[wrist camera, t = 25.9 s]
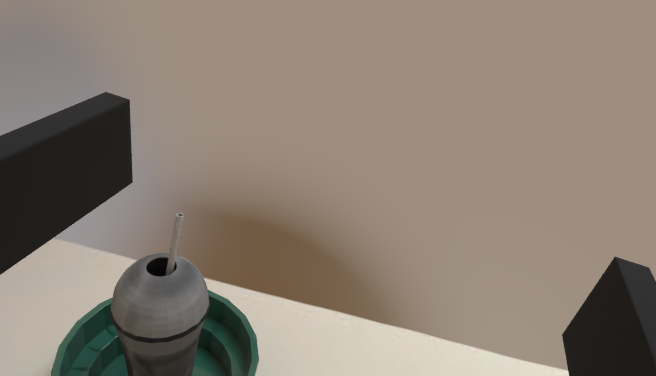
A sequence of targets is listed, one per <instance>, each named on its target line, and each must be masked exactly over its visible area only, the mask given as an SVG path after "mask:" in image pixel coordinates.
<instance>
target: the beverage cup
mask: <svg viewBox="0 0 656 376" xmlns="http://www.w3.org/2000/svg"><path fill="white" fill-rule="evenodd" d="M183 216H184V215H183V214H182V213H177V214H176V220H175V225H174V230H173V237H172V242H171V247H170V253H169V254H168V253H159V254H154V255H149V256H146V257H144V258H142V259H140V260H138V261H136V262H135V263H134V264H132V265H131V266H130V267H129V268H128V269H126V271H125V272H124V273H123V275H122V276H121V278H120V279H119V281H118V283H117V285H116V287H115V290H114V294H113V299H112V302H111V308H110V316H111V319H112V322H113V325H114V326H115V328H116V331H117V333H118V336H119V338H120V340H121V343H122V348H123V353H124V357H125V362H126V367H127V372H128V376H192V371H193V366H194V361H195V356H196V351H197V346H198V341H199V335H200V331H201V329H202V326H203V323H204V320H205V319H206V316H207V314H208V311H209V308H210V303H209V295H208V292H207V286H206V282H205V280H204V278H203V277H202V275H201V273H200V271H199V270H198V269H197V267H195V266H194V265H193V264H192V263H191V262H190V261H188V260H187V259H185V258H183V257H180V256H178V255H176V254H177V249H178V244H179V238H180V233H181V227H182V222H183Z"/></svg>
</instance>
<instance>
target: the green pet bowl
mask: <svg viewBox="0 0 656 376" xmlns="http://www.w3.org/2000/svg"><path fill="white" fill-rule="evenodd" d="M207 292H208V295H209V303H210V308H209V311H208V314H207V316H206V319H205V320H204V323H203V326H202V329H201V331H200V335H199V341H198V346H197V351H196V356H195V361H194V366H193V371H192V376H256V374H257V368H258V362H259V356H258V347H257V338H256V335H255V333H254V331H253V329H252V327H251V325H250V323H249V321H248V319H247V318H246V316H245V315H244V314H243V313H242V312H241V311H240V310H239V309H238V308H237V307H236V306H234V305H233V304H232V303H231V302H230V301H229V300H228V299H226V298H224V297H222V296H220V295H218V294H215V293H213V292H211V291H209V290H207ZM112 299H113V298H110V299H108V300H106V301H104V302H102V303H100V304H99V305H97V306H96V307H95V308H93V309H92V310H91V311H90V312H88V313H87V314H86V315H85V316H83V317H82V318H81V319H80V320H78V321H77V323H75V325H74V326H73V328H72V329H71V330H70V332H69V333H68V334H67V336H66V337H65V339H64V340H63V341H62V343H61V344H60V346H59V348H58V351H57V354H56V358H55V361H54V364H53V368H52V371H51V376H128V372H127V367H126V362H125V357H124V353H123V348H122V343H121V340H120V338H119V336H118V333H117V331H116V328H115V326H114V325H113V322H112V319H111V316H110V308H111V302H112Z"/></svg>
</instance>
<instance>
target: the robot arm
mask: <svg viewBox="0 0 656 376" xmlns="http://www.w3.org/2000/svg"><path fill="white" fill-rule="evenodd" d="M130 128H131V127H130V101H129V99H126V98H123V97H120V96H117V95H113V94H110V93H107V92H105V93H102V94H100V95H98V96H95V97H93V98H91V99H88V100H86V101H83V102H81V103H78V104H76V105H74V106H71V107H69V108H66V109H64V110H62V111H59V112H57V113H54V114H52V115H50V116H47V117H45V118H42V119H40V120H38V121H35V122H33V123H30V124H28V125H25V126H23V127H21V128H18V129H16V130H13V131H11V132H9V133H6V134H4V135H1V136H0V275H1V274H2V273H3V272H5V271H6V270H8V269H9V268H11V267H12V266H13V265H15V264H16V263H18V262H19V261H21V260H22V259H23V258H25V257H26V256H28V255H29V254H31V253H32V252H33V251H35V250H36V249H38V248H39V247H41V246H42V245H44V244H45V243H46V242H48V241H49V240H51V239H52V238H53V237H55V236H56V235H58V234H59V233H61V232H62V231H64V230H65V229H66V228H68V227H69V226H71V225H72V224H74V223H75V222H76V221H78V220H79V219H81V218H82V217H83V216H85V215H86V214H88V213H89V212H91V211H92V210H93V209H95V208H96V207H98V206H99V205H101V204H102V203H104V202H105V201H107V200H108V199H109V198H111V197H112V196H114V195H115V194H117V193H118V192H119V191H121V190H122V189H123V188H125V187H127V186H128V185H129V184H131V183H132V154H131V129H130ZM562 336H563V342H564V348H565V354H566V359H567V365H568V371H569V376H656V281H655V279H654V277H653V275H652V273H651V271H650V269H649V268H648V267H645V266H642V265H639V264H636V263H633V262H629V261H627V260H623V259H621V258H617V257H614V259H613V260H612V262H611V263H610V265H609V266H608V268H607V269H606V271H605V272H604V274H603V275H602V277H601V278H600V280H599V281H598V283H597V284H596V286H595V287H594V289H593V290H592V292H591V293H590V294H589V296H588V297H587V299H586V301H585V302H584V303H583V305H582V306H581V308H580V309H579V311H578V312H577V314H576V315H575V317H574V318H573V320H572V321H571V323H570V324H569V325H568V327H567V329H566V330H565V331H564V333H563V334H562Z"/></svg>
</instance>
